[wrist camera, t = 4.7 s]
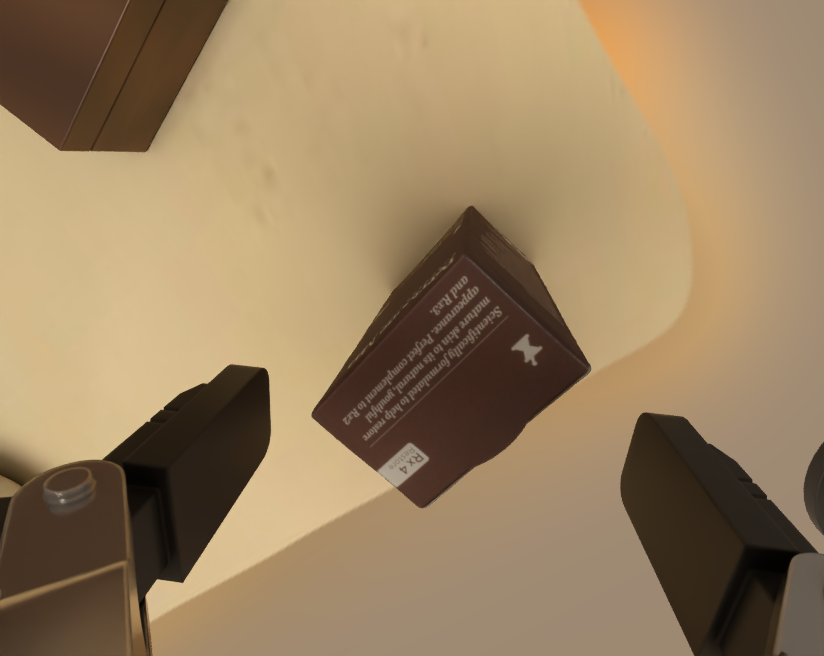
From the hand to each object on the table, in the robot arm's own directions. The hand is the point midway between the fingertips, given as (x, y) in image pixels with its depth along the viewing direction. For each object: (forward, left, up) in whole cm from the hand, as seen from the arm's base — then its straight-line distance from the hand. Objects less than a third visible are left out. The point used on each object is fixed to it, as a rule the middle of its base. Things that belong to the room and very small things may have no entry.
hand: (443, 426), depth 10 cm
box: (0, 0, -13) cm, 13 cm away
